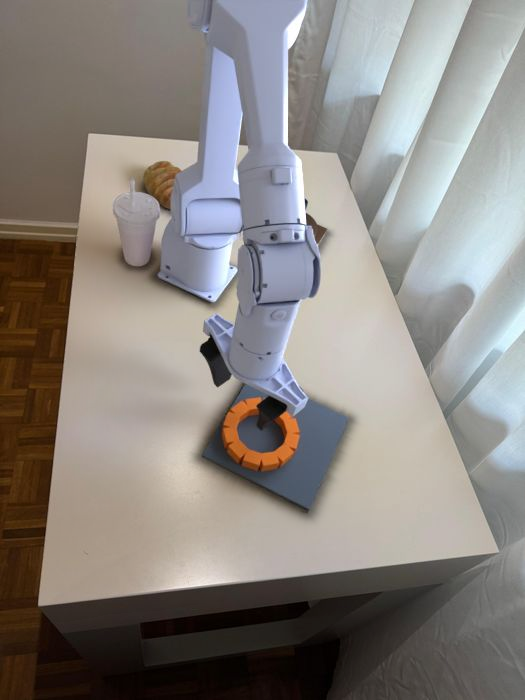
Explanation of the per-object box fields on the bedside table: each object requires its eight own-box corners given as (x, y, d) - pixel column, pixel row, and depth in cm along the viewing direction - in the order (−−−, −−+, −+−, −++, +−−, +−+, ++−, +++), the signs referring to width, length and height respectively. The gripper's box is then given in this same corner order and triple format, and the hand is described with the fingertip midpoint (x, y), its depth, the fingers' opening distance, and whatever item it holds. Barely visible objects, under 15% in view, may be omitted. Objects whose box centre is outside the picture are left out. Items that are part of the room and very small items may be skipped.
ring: (206, 431, 70) (208, 424, 69) (260, 392, 75) (262, 385, 73) (258, 486, 67) (261, 480, 65) (311, 441, 71) (314, 434, 70)
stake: (255, 242, 92) (263, 205, 86) (278, 212, 98) (286, 175, 92) (306, 264, 91) (317, 228, 85) (326, 233, 96) (338, 197, 91)
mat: (202, 456, 68) (202, 455, 68) (252, 373, 77) (252, 371, 76) (308, 511, 66) (309, 509, 66) (348, 419, 75) (349, 417, 74)
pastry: (200, 207, 95) (201, 189, 92) (162, 217, 92) (163, 198, 89) (175, 174, 99) (175, 155, 96) (138, 182, 96) (138, 163, 93)
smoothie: (116, 241, 87) (112, 162, 76) (159, 244, 88) (161, 166, 77) (113, 271, 83) (109, 193, 72) (158, 274, 85) (160, 197, 74)
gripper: (338, 359, 58) (308, 425, 69) (241, 274, 63) (227, 348, 74) (291, 395, 55) (266, 459, 65) (192, 302, 60) (184, 376, 70)
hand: (242, 402), depth 69 cm, fingers open, 7 cm apart
